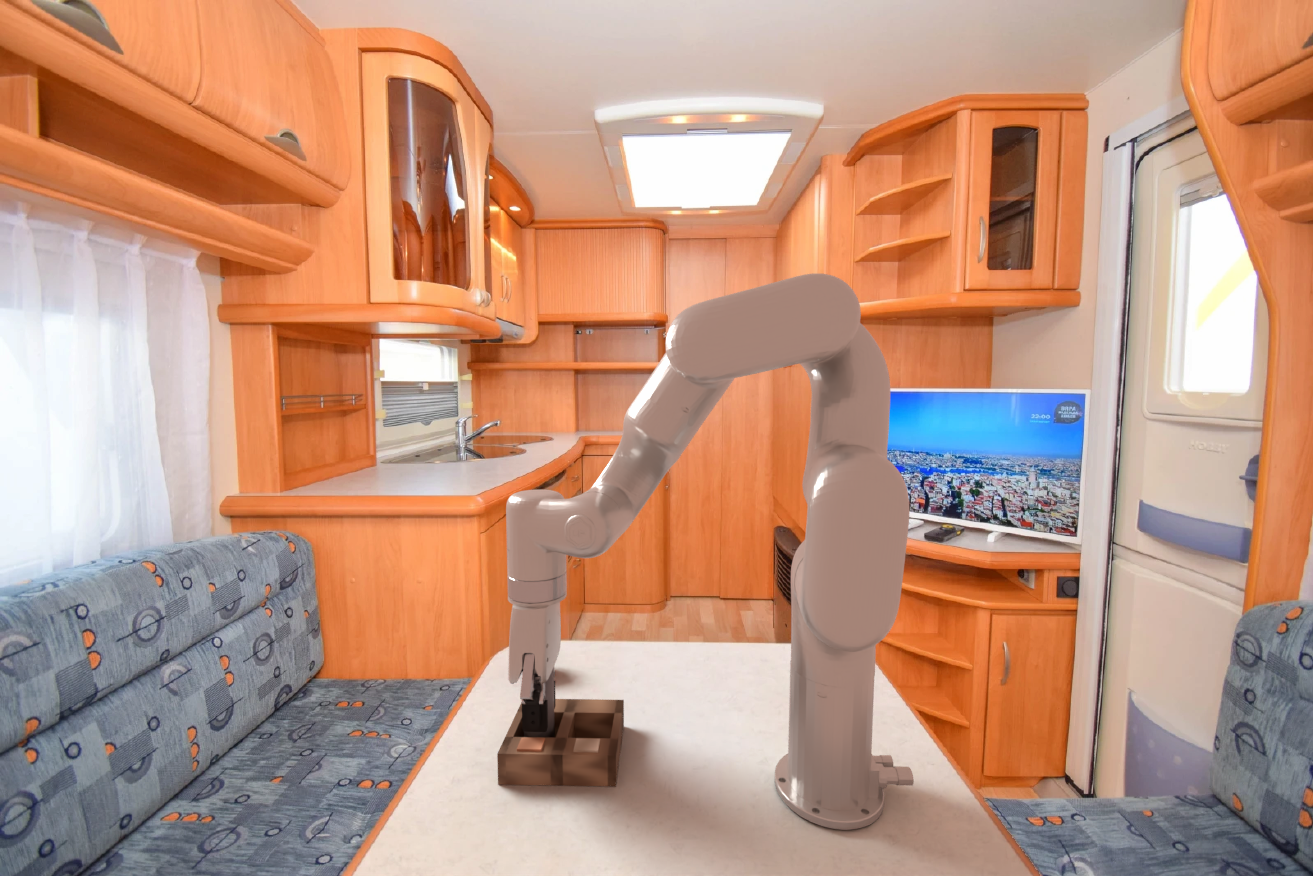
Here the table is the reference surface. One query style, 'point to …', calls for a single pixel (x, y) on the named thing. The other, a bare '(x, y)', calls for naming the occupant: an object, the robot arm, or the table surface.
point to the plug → (550, 697)
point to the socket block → (566, 747)
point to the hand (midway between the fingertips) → (539, 718)
